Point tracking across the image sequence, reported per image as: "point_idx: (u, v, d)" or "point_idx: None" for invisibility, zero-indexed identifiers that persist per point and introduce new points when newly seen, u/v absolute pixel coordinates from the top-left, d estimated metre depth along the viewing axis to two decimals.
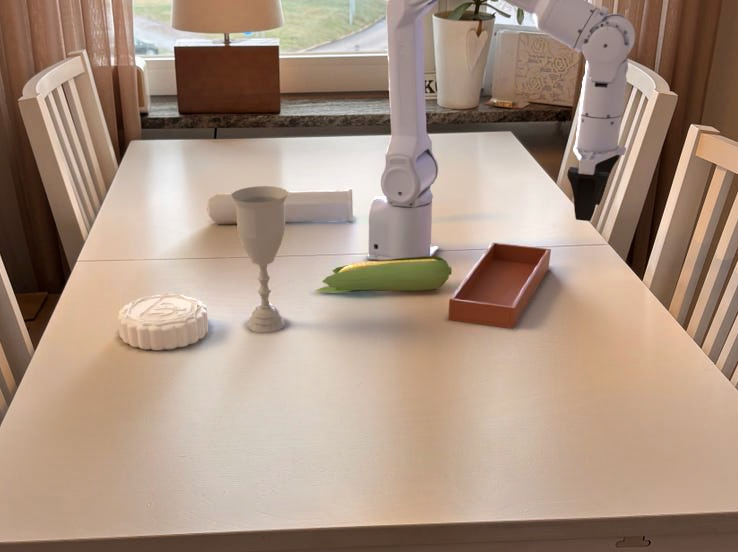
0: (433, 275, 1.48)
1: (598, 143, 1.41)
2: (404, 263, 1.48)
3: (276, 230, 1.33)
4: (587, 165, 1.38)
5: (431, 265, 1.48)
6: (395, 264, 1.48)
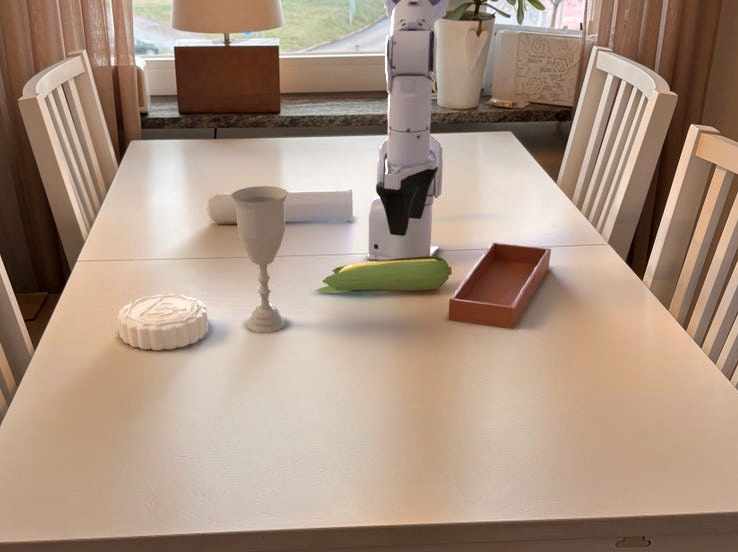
0: (433, 275, 1.48)
1: (406, 157, 1.39)
2: (404, 263, 1.48)
3: (276, 230, 1.33)
4: (392, 180, 1.36)
5: (431, 265, 1.48)
6: (395, 264, 1.48)
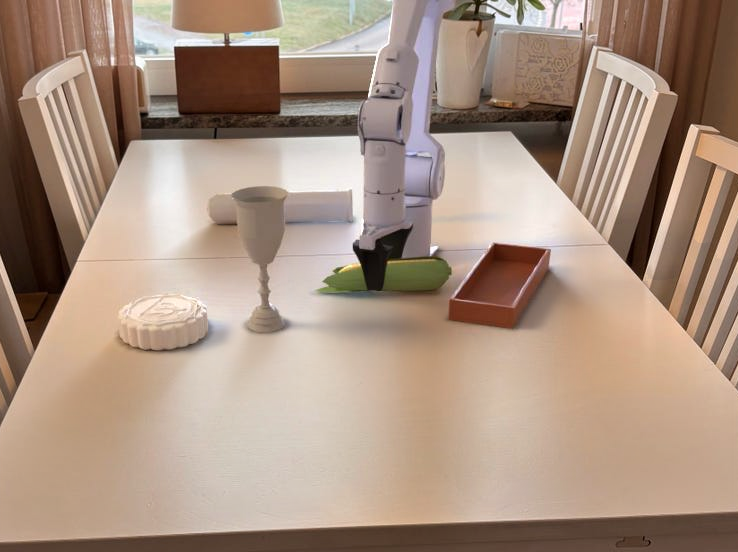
0: (433, 275, 1.48)
1: (381, 218, 1.43)
2: (404, 263, 1.48)
3: (276, 230, 1.33)
4: (366, 241, 1.40)
5: (431, 265, 1.48)
6: (395, 264, 1.48)
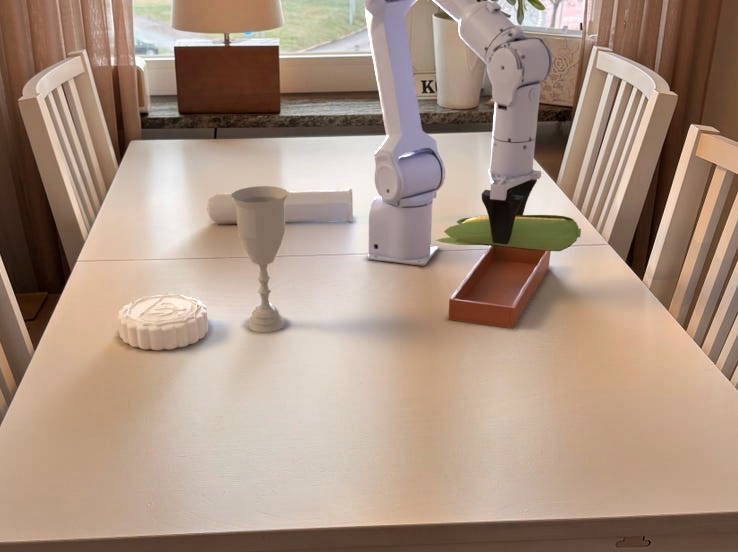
0: (559, 235, 1.42)
1: (511, 168, 1.37)
2: (530, 220, 1.43)
3: (276, 230, 1.33)
4: (498, 190, 1.35)
5: (558, 225, 1.42)
6: (521, 220, 1.43)
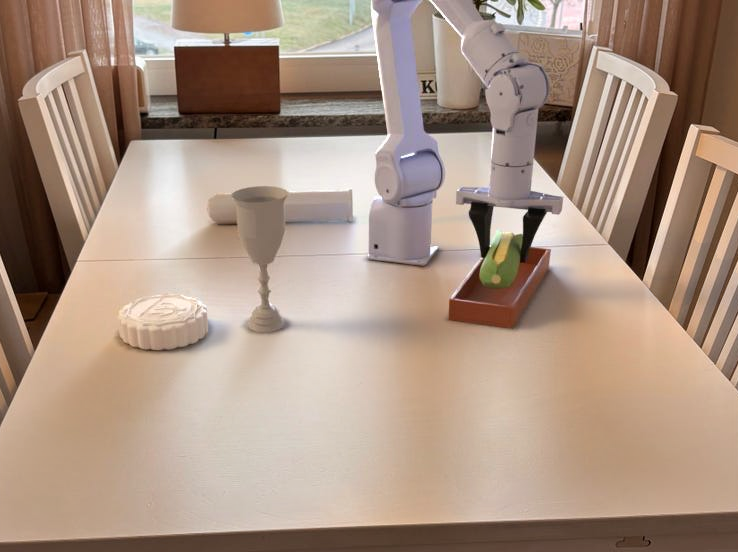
0: (481, 268, 1.41)
1: (489, 185, 1.42)
2: (495, 247, 1.43)
3: (276, 230, 1.33)
4: None
5: (488, 259, 1.40)
6: (496, 245, 1.44)
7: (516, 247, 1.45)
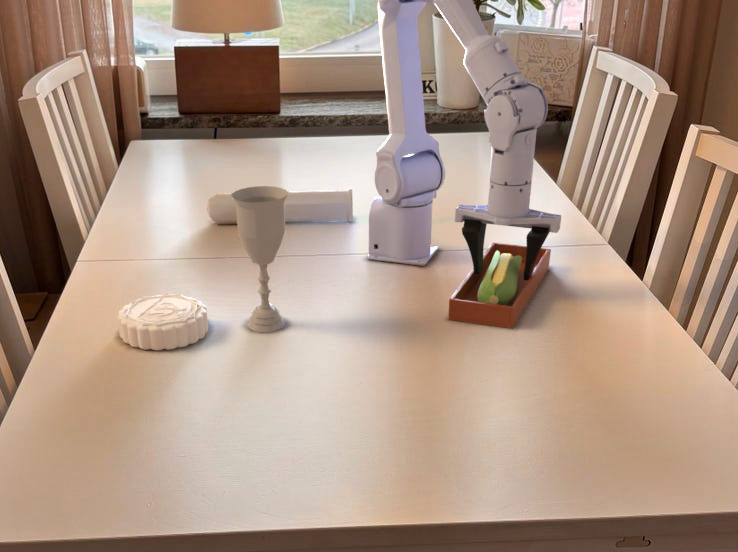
0: (480, 289, 1.42)
1: None
2: (493, 268, 1.45)
3: (276, 230, 1.33)
4: None
5: (486, 280, 1.42)
6: (494, 266, 1.46)
7: (514, 269, 1.47)
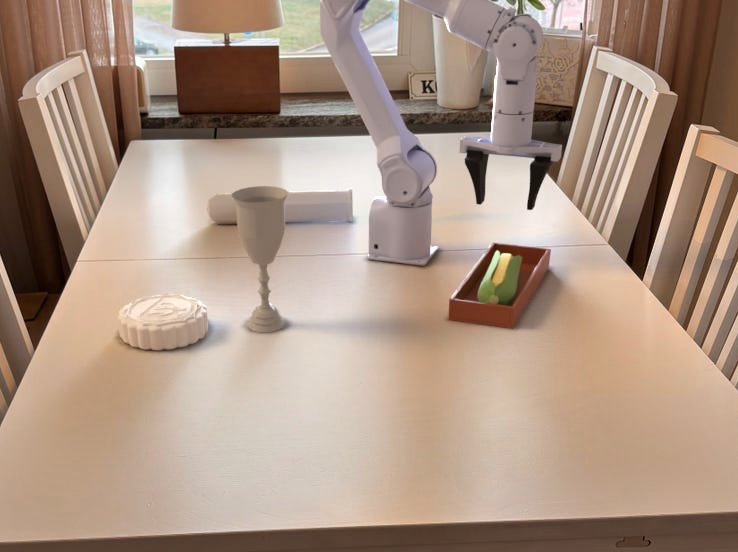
0: (480, 289, 1.42)
1: (491, 133, 1.49)
2: (493, 268, 1.45)
3: (276, 230, 1.33)
4: None
5: (486, 280, 1.42)
6: (494, 266, 1.46)
7: (514, 268, 1.47)
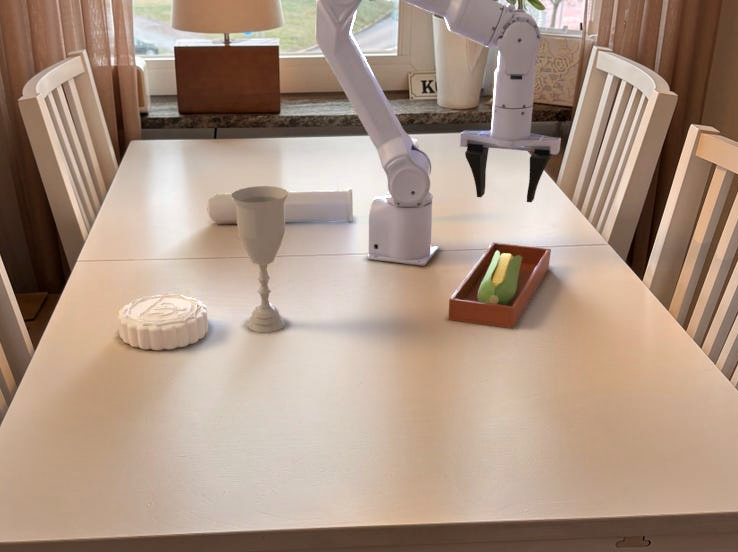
0: (480, 289, 1.42)
1: (491, 127, 1.51)
2: (493, 268, 1.45)
3: (276, 230, 1.33)
4: None
5: (486, 280, 1.42)
6: (494, 266, 1.46)
7: (514, 268, 1.47)
